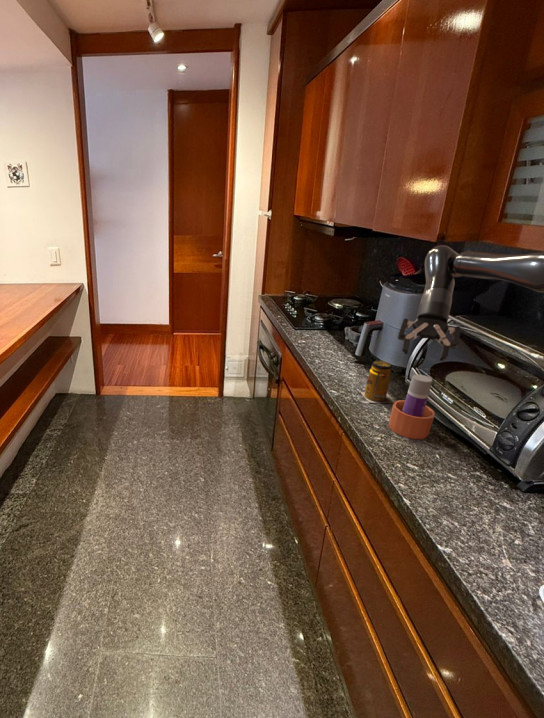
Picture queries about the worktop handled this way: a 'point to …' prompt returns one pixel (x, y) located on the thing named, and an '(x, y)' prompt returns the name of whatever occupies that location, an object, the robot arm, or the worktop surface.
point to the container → (417, 395)
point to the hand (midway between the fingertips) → (423, 356)
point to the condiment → (378, 383)
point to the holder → (410, 422)
